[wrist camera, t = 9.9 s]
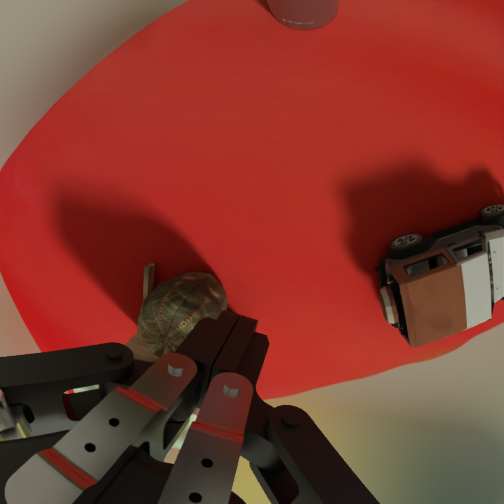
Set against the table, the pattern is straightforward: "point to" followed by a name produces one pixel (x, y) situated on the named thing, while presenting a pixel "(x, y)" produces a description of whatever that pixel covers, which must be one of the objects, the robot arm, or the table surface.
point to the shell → (179, 310)
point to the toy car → (444, 278)
